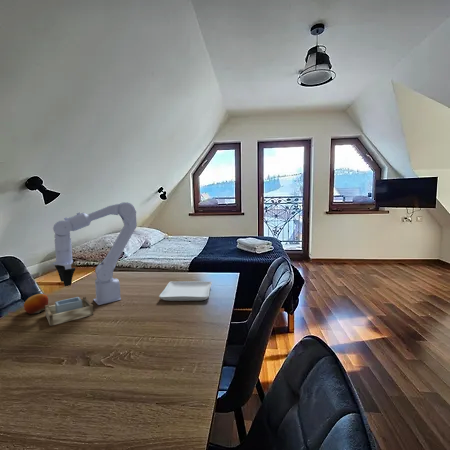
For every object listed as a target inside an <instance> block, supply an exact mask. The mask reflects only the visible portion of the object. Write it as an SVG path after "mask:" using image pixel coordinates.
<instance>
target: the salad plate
mask: <svg viewBox="0 0 450 450" xmlns="http://www.w3.org/2000/svg"><path fill="white" fill-rule="evenodd" d="M212 283H213V282H212V281H197V280H195V281H190V280H189V281H188V280H187V281H186V280H185V281H183V280H182V281H175V280H174V281H172V280H171V281H169V282H168V283H167V284H166V286H165V288H164V289H163V290H162V292H161V293H160V294H159V295H158V298H160V300H163V301H172V302H175V301H176V302H184V301H185V302H187V301H189V302H190V301H192V302H195V301H197V302H199V301H204V300H207V299H208V298H209V296H210V291H211V286H212Z"/></svg>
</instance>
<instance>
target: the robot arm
mask: <svg viewBox="0 0 450 450" xmlns="http://www.w3.org/2000/svg"><path fill="white" fill-rule="evenodd" d="M111 215H113V216H120V217H121V220H122V223H123V227H122V229H121V230H120V232H119V233H118V235H117V237H116V238H115V241H114V242H113V244H112V246H111V248H110V249H109V251H108V253H107V254H106V256H105V258H103V260H102V261H101V263H99V264H98V265H97V266H96V267H95V276H96V279H95V280H94V284H95V285H94V286H95V298H93V299H92V300H93V302H95V303H96V304H97V306H100V305H105V304H110V303H113V302H116V301H121V300H122V297H121V284H120V281H119V279H118V278H114V277H113V276H114V270H115V268H116V265H117V262H118V261H119V259H120V257H121V255H122V253H123V252H124V250H125V248H126V246H127V244H128V243H129V240H130V239H131V237H132V236H133V234H134V232H135V230H136V228H137V225H138V224H137V223H138V222H137V211H136V208H135V206H134V205H133V204H132V203H131V202H121V203H116V204H111V205H107V206H105V207H103V208H101V209H97V210H95V211H92V212H90V213H85V212H77V213H76V214H75V215H73V216H70V217H64V218H63V220H58V221H56V222H55V224H54V225H53V227H52V229H53V232H54V249H55V250H54V251H55V252H54V253H55V261H53V262H52V265H53V266H54V267H55V269H56V270H57V273H58V277H59V279H60V282H61V283H63V285H64V287H69V286H71V285H72V282H73V276H74V273H75V271H76V267H72V264H73V263H74V260H73V247H72V238H71V233H70V232H75V231H78V230H81V229H83V228H86V227H88V226H90V225H91V222H92V221H96V220H99V219H101V218H104V217H107V216H111Z"/></svg>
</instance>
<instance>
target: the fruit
mask: <svg viewBox="0 0 450 450" xmlns="http://www.w3.org/2000/svg"><path fill="white" fill-rule="evenodd" d="M46 305H48V306H49V297H48V295H46V294H44V293H37V294H34V295H31V296H30V297H28V298H27V299H26V300H25V301H24V303H23V309H24V311H25V312H26V313H28V314H29V315H30V314H31V315H32V314H33V315H34V314H40V312H42V311H44V310H45V306H46Z"/></svg>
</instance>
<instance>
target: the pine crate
mask: <svg viewBox="0 0 450 450" xmlns="http://www.w3.org/2000/svg"><path fill="white" fill-rule="evenodd" d="M80 299H81V300H82V308H79V309H75V310H70V311H66V312H62V313H58V314H56V307H55V304H53V305H49V304H48V305H46V306H45V317H46V319H47V321H48V324H49V326H55V325H60V324H64V323H67V322H70V321H71V322H72V321H75V320H79V319H82V318H85V317H91V316H94V305H93V303H91V302H90V301H89V300H88V299H87V297H86V296H83V297H82V298H80Z"/></svg>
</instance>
